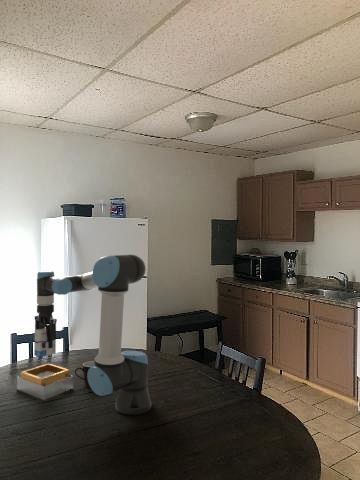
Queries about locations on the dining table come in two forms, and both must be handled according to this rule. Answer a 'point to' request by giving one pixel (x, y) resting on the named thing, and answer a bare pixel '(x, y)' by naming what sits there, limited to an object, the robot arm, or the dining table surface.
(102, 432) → the dining table surface
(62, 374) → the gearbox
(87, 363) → the coffee mug
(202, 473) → the dining table surface
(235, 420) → the dining table surface
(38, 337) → the ink box
